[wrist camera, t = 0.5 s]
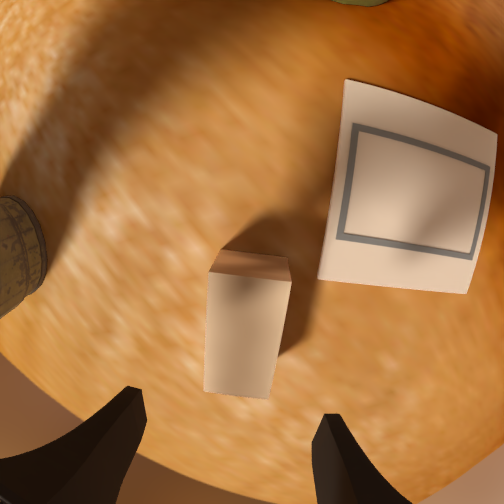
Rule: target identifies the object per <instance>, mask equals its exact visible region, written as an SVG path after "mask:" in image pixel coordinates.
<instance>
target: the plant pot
mask: <svg viewBox="0 0 504 504" xmlns="http://www.w3.org/2000/svg"><path fill="white" fill-rule="evenodd" d="M332 1H335V2H338V3H342V4H353V5H361V6H367V7H368V6H376V5H379V4H382V3H384V2H386V1H388V0H332Z"/></svg>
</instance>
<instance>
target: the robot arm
mask: <svg viewBox="0 0 504 504" xmlns="http://www.w3.org/2000/svg"><path fill="white" fill-rule="evenodd" d="M146 423H147V417H146V412H145V406H144V401H143V395H142V389H138V388H134V387H130V386H127V387H125V388H124V389H123V390H122V391H121V392H120V393H119V394H117V395H116V396H115V397H114V398H113V399H112V400H111V401H110V402H108V403H107V404H106V405H105V406H104V407H103V408H101V409H100V410H99V411H98V412H96V413H95V414H94V415H93V416H91V417H90V418H89V419H87V420H86V421H85V422H83V423H82V424H80V425H79V426H78V427H76V428H75V429H73V430H72V431H70V432H69V433H67V434H65V435H64V436H62V437H60V438H58V439H57V440H55V441H53V442H50V443H49V444H46V445H44V446H42V447H40V448H37V449H35V450H32V451H29V452H26V453H23V454H20V455H16V456H13V457H8V458H3V459H0V504H116V500H117V497H118V494H119V490H120V487H121V484H122V482H123V479H124V477H125V475H126V472H127V470H128V468H129V466H130V464H131V462H132V459H133V457H134V455H135V453H136V451H137V449H138V446H139V444H140V442H141V439H142V436H143V433H144V430H145V426H146ZM312 468H313V475H314V482H315V489H316V496H317V503H318V504H412V503H411V502H410V501H409V500H407V499H406V498H405V497H403V496H402V495H401V494H400V493H399V492H398V491H397V490H396V489H395V488H394V487H392V485H391V484H390V483H389V482H388V481H387V480H386V479H385V478H384V477H383V476H382V475H381V474H380V473H379V471H378V470H377V469H376V468H375V466H374V465H373V464H372V463H371V461H370V460H369V459H368V457H367V456H366V455H365V453H364V452H363V450H362V449H361V447H360V446H359V445H358V443H357V442H356V440H355V438H354V437H353V435H352V434H351V432H350V430H349V429H348V427H347V426H346V424H345V422H344V420H343V419H342V417H341V415H340V414H324V416H323V418H322V420H321V423H320V425H319V427H318V430H317V432H316V434H315V436H314V439H313V441H312Z"/></svg>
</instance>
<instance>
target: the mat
mask: <svg viewBox="0 0 504 504" xmlns="http://www.w3.org/2000/svg"><path fill="white" fill-rule="evenodd" d="M496 150H497V134H496V133H494V132H492V131H490V130H488V129H486V128H484V127H482V126H480V125H478V124H476V123H474V122H472V121H469V120H467V119H465V118H463V117H461V116H458V115H456V114H454V113H451V112H449V111H446V110H444V109H441V108H439V107H436V106H434V105H431V104H428V103H426V102H423V101H420V100H417V99H414V98H412V97H409V96H406V95H402V94H399V93H396V92H393V91H390V90H386V89H383V88H379V87H376V86H372V85H368V84H364V83H360V82H356V81H352V80H348V79H346V80H345V81H344V91H343V103H342V113H341V123H340V132H339V141H338V149H337V157H336V165H335V172H334V179H333V186H332V193H331V199H330V206H329V212H328V218H327V224H326V230H325V235H324V241H323V247H322V252H321V257H320V262H319V268H318V273H317V279H321V280H330V281H339V282H348V283H357V284H366V285H376V286H386V287H396V288H406V289H416V290H427V291H438V292H449V293H460V294H467V291H468V288H469V285H470V282H471V279H472V275H473V272H474V269H475V265H476V262H477V258H478V255H479V251H480V247H481V243H482V239H483V235H484V230H485V226H486V221H487V216H488V211H489V206H490V200H491V193H492V187H493V179H494V171H495V162H496Z"/></svg>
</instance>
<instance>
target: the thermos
mask: <svg viewBox="0 0 504 504" xmlns="http://www.w3.org/2000/svg"><path fill="white" fill-rule="evenodd" d="M46 266H47V254H46V246H45V240H44V237H43V234H42V230H41V227H40V224H39V223H38V221H37V219H36V217H35V215H34V213H33V211H32V210H31V209H30V208H29V206H28V205H27V204H26V203H25V202H24V201H23V200H21V199H19V198H17V197H16V196H3V197H0V319H1V318H2V317H3V316H5V315H6V314H7V313H9V312H10V311H11V310H13V309H14V308H16V307H17V306H18V305H19V304H20V303H21V302H22V301H23V300H24V298H25V297H26V296H27V295H30V294H32V293H33V292H35V291H36V290H37V289H38V288H39V287H40V286H41V285H42V283H43V280H44V277H45V275H46Z"/></svg>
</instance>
